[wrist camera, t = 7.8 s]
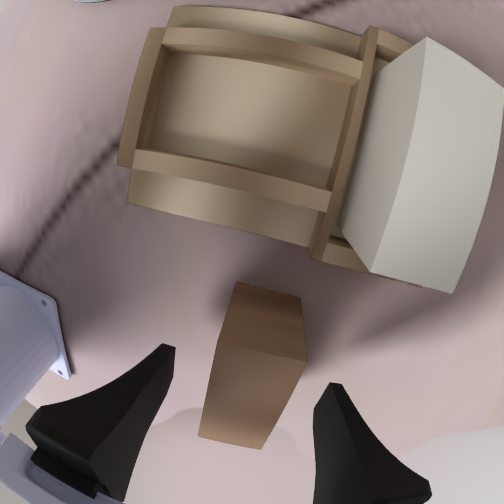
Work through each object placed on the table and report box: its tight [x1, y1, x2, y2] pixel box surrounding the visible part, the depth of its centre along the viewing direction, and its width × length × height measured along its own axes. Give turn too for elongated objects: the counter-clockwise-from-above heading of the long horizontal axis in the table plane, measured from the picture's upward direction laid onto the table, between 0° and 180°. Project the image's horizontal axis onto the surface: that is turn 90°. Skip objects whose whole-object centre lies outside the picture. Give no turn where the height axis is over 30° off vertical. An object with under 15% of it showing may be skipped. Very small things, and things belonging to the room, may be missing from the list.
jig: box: [117, 6, 422, 288], centre depth 10 cm, size 14×10×2 cm
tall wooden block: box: [198, 282, 308, 450], centre depth 13 cm, size 7×3×5 cm, turn 167°
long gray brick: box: [336, 37, 504, 294], centre depth 8 cm, size 3×7×5 cm, turn 167°
